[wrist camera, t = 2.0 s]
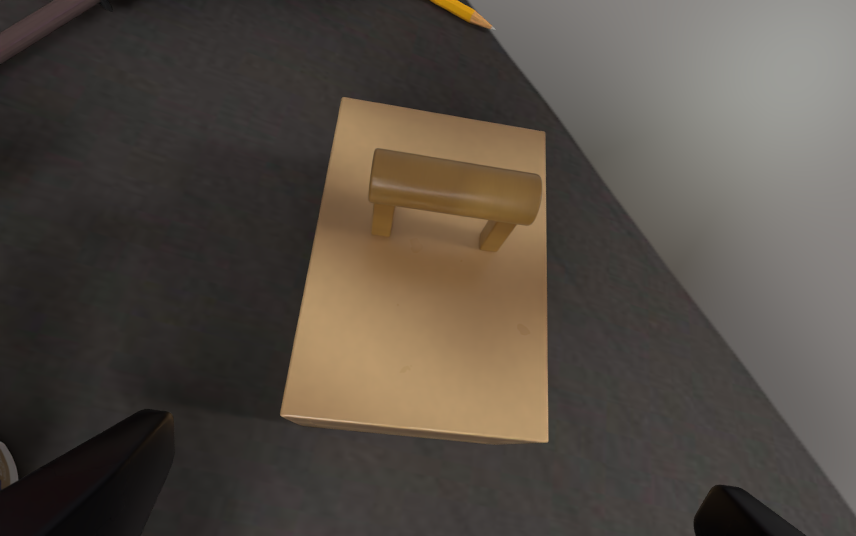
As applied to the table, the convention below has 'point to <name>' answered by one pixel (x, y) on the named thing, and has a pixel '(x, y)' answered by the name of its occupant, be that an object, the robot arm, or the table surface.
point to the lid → (426, 279)
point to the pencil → (463, 12)
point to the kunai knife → (42, 24)
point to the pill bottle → (7, 467)
